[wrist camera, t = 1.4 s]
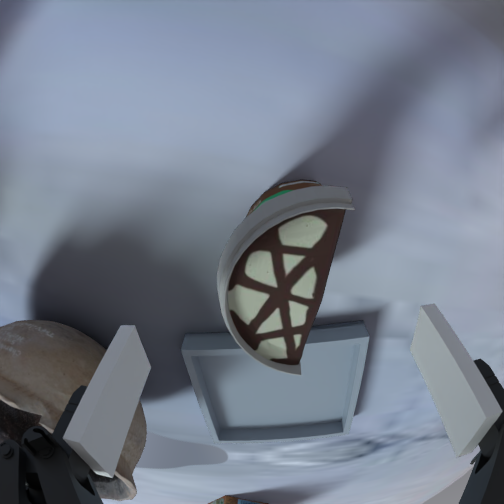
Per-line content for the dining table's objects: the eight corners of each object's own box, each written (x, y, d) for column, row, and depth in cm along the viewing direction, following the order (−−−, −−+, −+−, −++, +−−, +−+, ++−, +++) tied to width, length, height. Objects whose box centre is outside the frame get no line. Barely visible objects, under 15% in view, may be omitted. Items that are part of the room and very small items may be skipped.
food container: (239, 148, 23) (226, 175, 14) (319, 162, 23) (357, 198, 14) (220, 288, 28) (205, 370, 19) (288, 298, 29) (299, 381, 20)
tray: (215, 428, 38) (213, 443, 36) (185, 333, 31) (180, 350, 28) (345, 419, 37) (348, 434, 35) (362, 320, 30) (369, 336, 27)
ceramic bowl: (152, 300, 29) (95, 430, 15) (172, 426, 38) (153, 519, 25) (-7, 276, 29) (-80, 350, 15) (43, 394, 38) (6, 465, 24)
